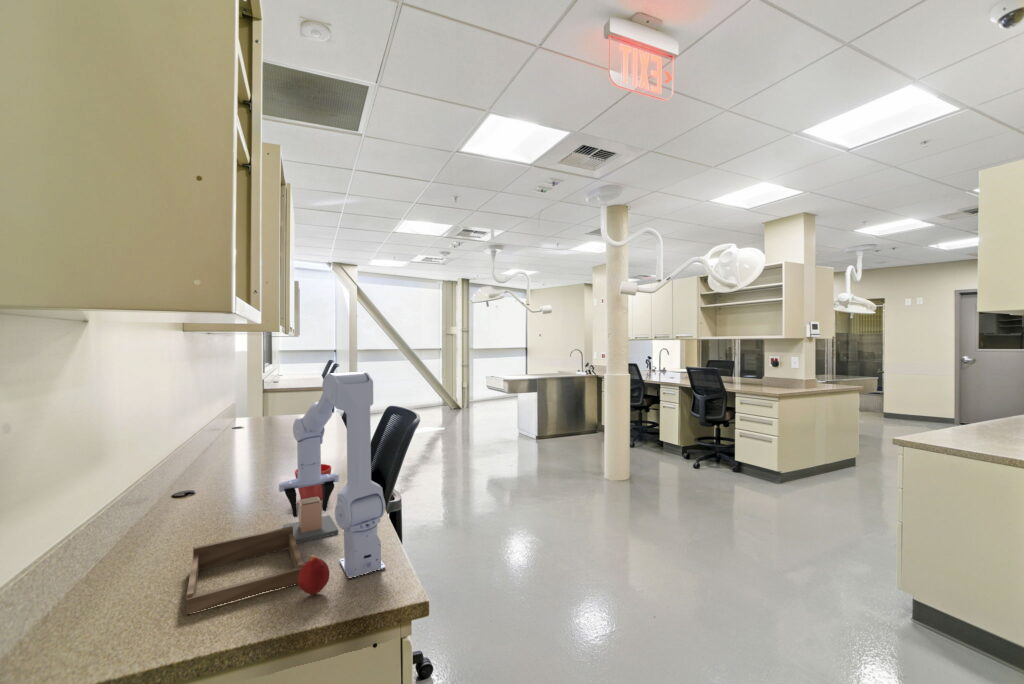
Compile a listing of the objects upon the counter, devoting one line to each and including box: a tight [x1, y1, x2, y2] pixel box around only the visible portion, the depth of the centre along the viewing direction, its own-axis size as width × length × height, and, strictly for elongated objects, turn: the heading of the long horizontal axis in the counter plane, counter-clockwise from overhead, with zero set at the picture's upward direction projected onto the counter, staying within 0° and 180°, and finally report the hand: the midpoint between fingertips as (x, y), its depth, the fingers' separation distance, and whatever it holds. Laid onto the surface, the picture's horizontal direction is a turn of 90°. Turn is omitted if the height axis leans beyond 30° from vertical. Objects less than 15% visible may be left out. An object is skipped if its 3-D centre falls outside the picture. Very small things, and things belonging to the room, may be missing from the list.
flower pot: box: [294, 463, 332, 501], centre depth 143 cm, size 11×11×10 cm
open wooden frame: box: [185, 526, 304, 616], centre depth 95 cm, size 20×20×5 cm
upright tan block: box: [297, 497, 323, 533], centre depth 117 cm, size 5×5×7 cm
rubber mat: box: [282, 514, 339, 544], centre depth 117 cm, size 12×12×1 cm
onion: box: [297, 554, 330, 596], centre depth 88 cm, size 6×6×8 cm
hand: (309, 512), depth 117 cm, fingers open, 7 cm apart
